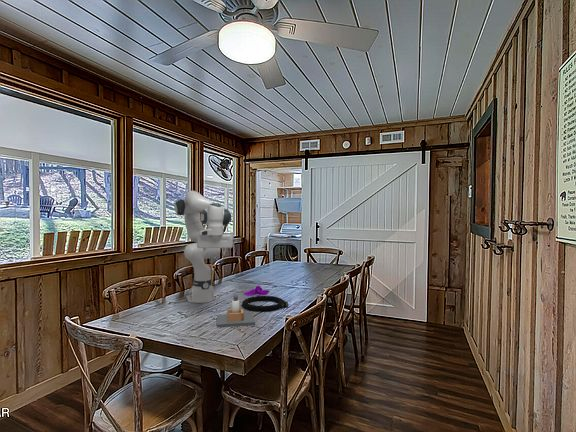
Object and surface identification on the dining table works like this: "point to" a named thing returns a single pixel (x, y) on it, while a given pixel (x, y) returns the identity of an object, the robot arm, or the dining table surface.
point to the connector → (235, 304)
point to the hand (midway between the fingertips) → (214, 255)
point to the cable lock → (278, 306)
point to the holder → (235, 319)
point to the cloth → (256, 291)
